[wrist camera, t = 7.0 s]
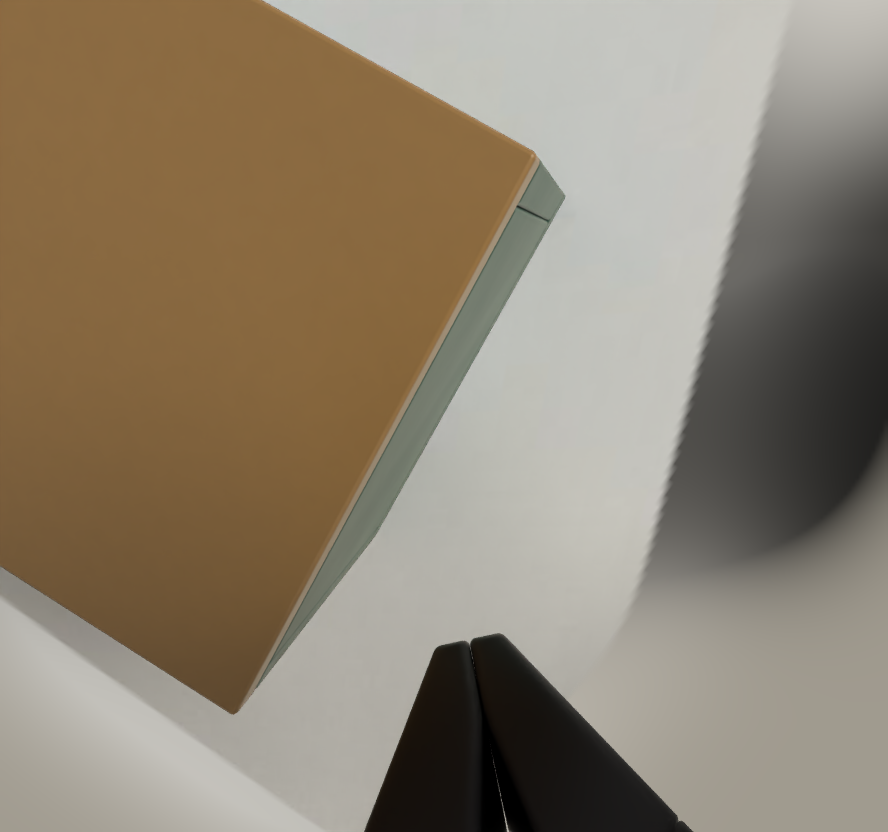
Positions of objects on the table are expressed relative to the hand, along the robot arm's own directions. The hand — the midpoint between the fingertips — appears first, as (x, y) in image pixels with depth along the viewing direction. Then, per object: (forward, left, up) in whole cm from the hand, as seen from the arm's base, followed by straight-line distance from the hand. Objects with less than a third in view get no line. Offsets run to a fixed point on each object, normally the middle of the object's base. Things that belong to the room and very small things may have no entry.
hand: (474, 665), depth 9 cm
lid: (+10, 0, -4) cm, 11 cm away
